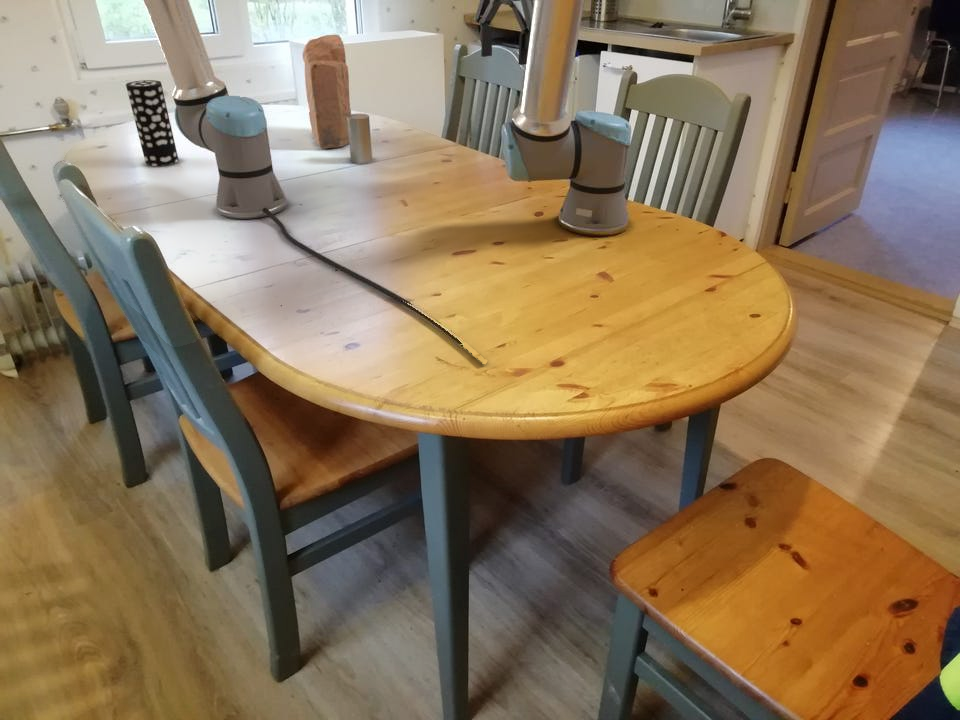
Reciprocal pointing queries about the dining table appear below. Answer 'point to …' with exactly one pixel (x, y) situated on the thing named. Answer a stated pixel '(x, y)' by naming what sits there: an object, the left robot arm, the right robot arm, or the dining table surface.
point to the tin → (359, 138)
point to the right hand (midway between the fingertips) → (504, 60)
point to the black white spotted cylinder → (152, 122)
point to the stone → (327, 90)
